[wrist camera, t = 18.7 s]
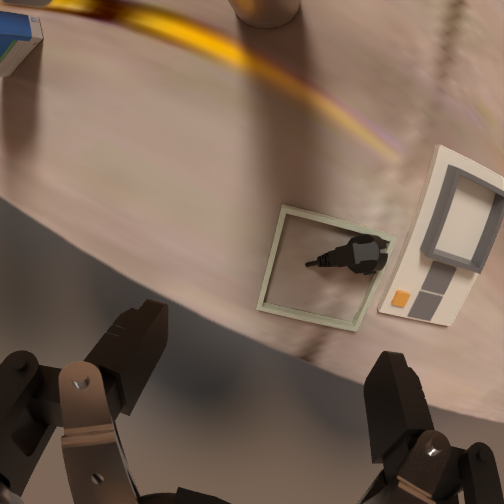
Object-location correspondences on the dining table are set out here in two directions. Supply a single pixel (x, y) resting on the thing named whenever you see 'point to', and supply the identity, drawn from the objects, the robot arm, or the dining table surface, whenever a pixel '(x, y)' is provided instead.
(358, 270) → the power plug
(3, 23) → the string lights box
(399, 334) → the dining table surface
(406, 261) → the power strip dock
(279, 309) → the pick tray
